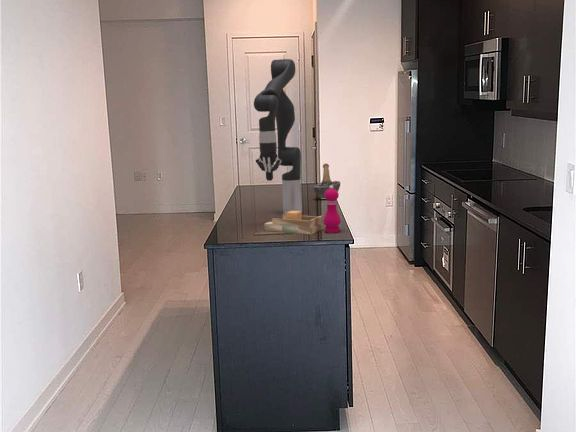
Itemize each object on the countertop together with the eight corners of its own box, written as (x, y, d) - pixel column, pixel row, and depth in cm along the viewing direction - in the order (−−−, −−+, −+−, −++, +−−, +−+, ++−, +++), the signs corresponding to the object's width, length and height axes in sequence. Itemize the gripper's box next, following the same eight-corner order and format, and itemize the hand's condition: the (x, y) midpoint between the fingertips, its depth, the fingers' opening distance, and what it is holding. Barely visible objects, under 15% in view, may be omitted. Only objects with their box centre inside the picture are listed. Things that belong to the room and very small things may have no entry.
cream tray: (277, 225, 280) (276, 212, 279) (322, 229, 269) (322, 215, 268) (264, 230, 271) (264, 216, 270) (311, 234, 260) (311, 220, 259)
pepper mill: (326, 229, 269) (325, 184, 265) (342, 229, 267) (341, 184, 263) (322, 232, 262) (321, 186, 258) (338, 233, 260) (337, 186, 256)
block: (292, 221, 272) (291, 210, 271) (302, 222, 270) (301, 211, 269) (286, 223, 268) (286, 212, 267) (296, 224, 266) (296, 213, 265)
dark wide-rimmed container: (340, 196, 356) (340, 161, 352) (340, 200, 340) (339, 165, 336) (315, 196, 357) (314, 162, 354) (313, 201, 341) (312, 165, 337)
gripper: (285, 140, 269) (286, 179, 273) (259, 140, 275) (261, 178, 279) (276, 142, 263) (278, 182, 266) (250, 142, 269) (252, 181, 273)
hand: (269, 180), depth 273 cm, fingers closed
